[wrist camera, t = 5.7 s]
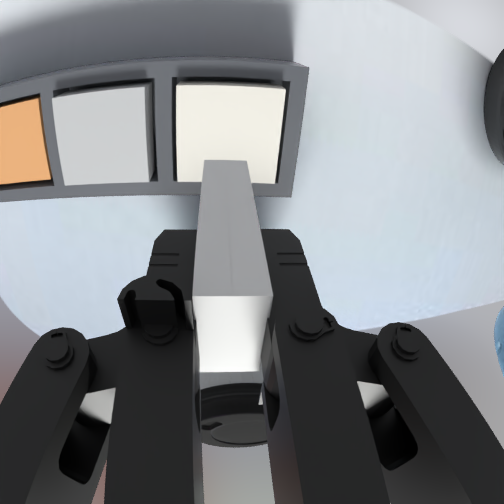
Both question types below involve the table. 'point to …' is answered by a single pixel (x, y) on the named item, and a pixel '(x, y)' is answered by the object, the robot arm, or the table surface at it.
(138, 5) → the table surface
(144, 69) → the keypad
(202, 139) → the key cream
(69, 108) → the key grey
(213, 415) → the coffee cup
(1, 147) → the key orange
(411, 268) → the table surface
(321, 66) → the table surface
